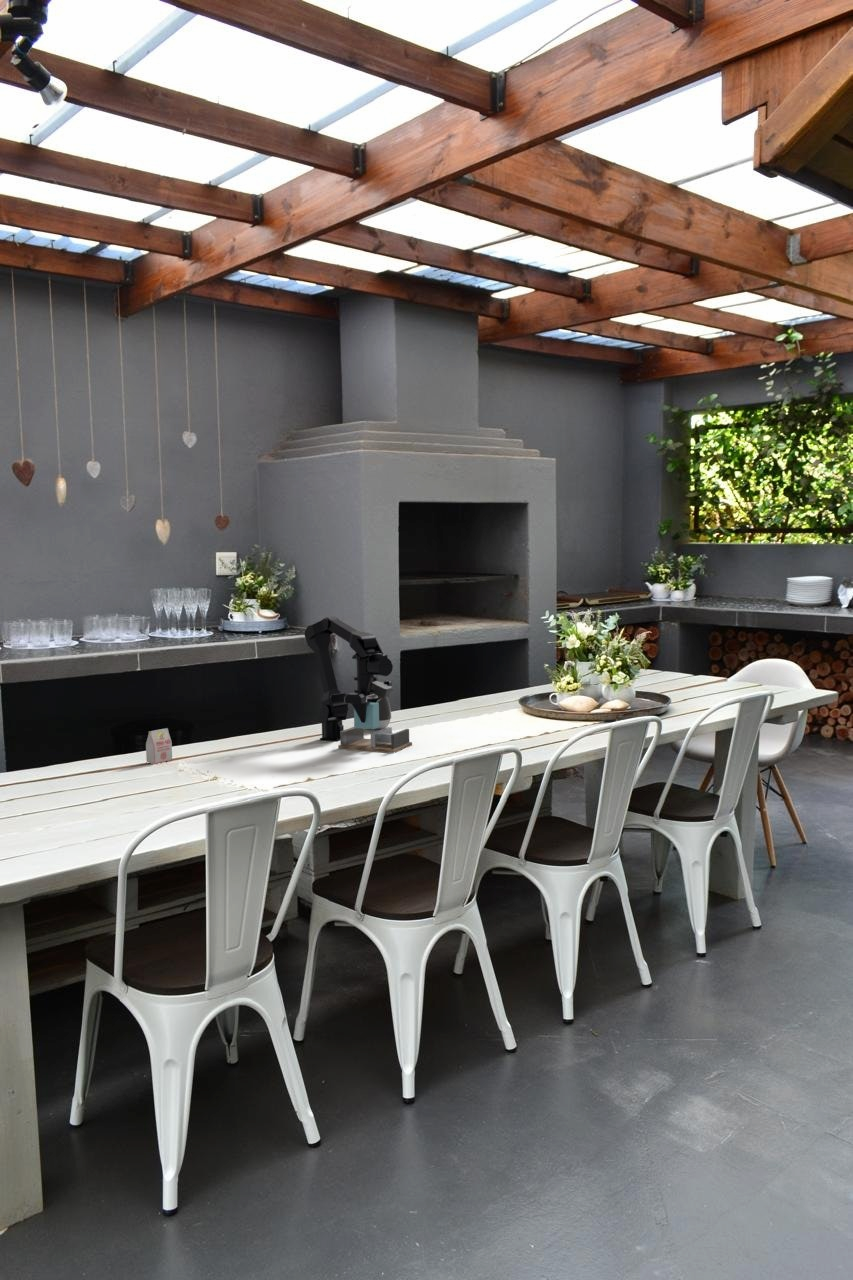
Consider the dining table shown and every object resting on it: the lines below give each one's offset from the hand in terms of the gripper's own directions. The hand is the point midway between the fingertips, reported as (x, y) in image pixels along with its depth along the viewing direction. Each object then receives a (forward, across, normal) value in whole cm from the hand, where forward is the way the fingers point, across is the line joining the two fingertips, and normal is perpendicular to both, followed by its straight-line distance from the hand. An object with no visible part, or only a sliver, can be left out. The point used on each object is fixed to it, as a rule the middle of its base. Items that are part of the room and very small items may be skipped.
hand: (366, 721), depth 328 cm
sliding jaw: (+7, 0, -9) cm, 11 cm away
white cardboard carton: (+8, -43, +49) cm, 66 cm away
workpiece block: (+2, 0, 0) cm, 2 cm away
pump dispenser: (+8, +30, +12) cm, 33 cm away
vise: (+8, 0, -3) cm, 9 cm away
